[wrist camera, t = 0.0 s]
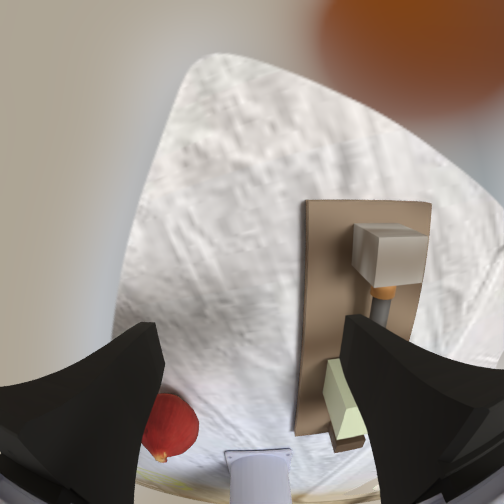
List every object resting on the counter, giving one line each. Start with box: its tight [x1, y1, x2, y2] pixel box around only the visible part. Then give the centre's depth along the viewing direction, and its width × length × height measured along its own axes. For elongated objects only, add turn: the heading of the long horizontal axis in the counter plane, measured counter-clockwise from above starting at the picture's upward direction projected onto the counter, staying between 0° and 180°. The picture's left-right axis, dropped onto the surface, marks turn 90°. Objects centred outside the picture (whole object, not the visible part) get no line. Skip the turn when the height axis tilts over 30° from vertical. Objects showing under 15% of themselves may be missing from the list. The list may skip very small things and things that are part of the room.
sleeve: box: [323, 359, 368, 440], centre depth 19 cm, size 4×6×6 cm, turn 92°
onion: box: [141, 393, 199, 463], centre depth 20 cm, size 6×6×8 cm
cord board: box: [294, 200, 432, 453], centre depth 19 cm, size 24×10×5 cm, turn 2°
